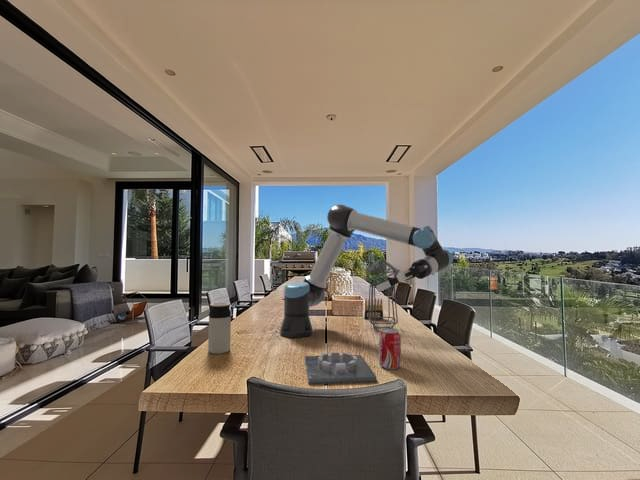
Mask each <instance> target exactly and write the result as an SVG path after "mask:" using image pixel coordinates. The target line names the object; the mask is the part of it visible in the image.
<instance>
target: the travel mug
mask: <svg viewBox="0 0 640 480" xmlns="http://www.w3.org/2000/svg"><path fill="white" fill-rule="evenodd" d="M230 305H231V302H228V301H227V302H225V301H217V302H212V303H210V304H209V306H210V310H209V312H208V340H207V342H208V345H207V351H208V353H210V354H213V355H220V354H225V353H228V352H230V351H231V330H232V329H231V328H232V327H231V326H232V325H231V324H232V323H231V321H232V320H231V319H232V317H231V316H232V312H231V310H230Z"/></svg>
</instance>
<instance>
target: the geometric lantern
mask: <svg viewBox="0 0 640 480" xmlns="http://www.w3.org/2000/svg"><path fill="white" fill-rule="evenodd" d="M378 264H379V265H378ZM384 264H385V265H384ZM377 266H378V267H377ZM385 266H387V267H388V268H386V267H385ZM376 267H377V269H376ZM363 270H364V273H365V275H366V278H368V281H369V291H368V292H369V293H368V300H369V317H368V319H367V320H369V323H370V324H371V325H372V327H373V328H372V329H374V330H375V331H376V332H380V329H386V328H390V329H394V326H396V325H397V324H398V322H399V320H398V319H399V318H398V310H397V298H396V284H395V285H393V286H391V289H390V288H387V293H388V294H387V295H388V316H383V317H376V305H377V301H376V302H375V298H376V289H377V288H376V286H377V285H379V284H380V283H379V282H380V280H381V279H382V280H383V279H385V282H386V281H389V279H388V278H389V277H390V276H392V275H393V278H395V277H396V276H397V275H399V273H400V272H401V270H400V269H399V268H396V267H395V266H394V265H392V264H391V263H389V262H388V261H386V260H385V259H381V258H380V259H377V260H376V261H374V262H373V263H371V264H370V265H369V266H367V267H366V268H364V269H363ZM390 270H392V271H390ZM370 273H371V274H372V275H374V276H375V278H374V280H373V281H372V282H371V278H370ZM387 274H388V275H387ZM377 278H378V281H377V282H375V281H376V279H377ZM393 278H392V279H393ZM374 283H375V284H374ZM390 295H391V306H392V316H390V313H391V312H390V311H391V310H390V308H391V307H390ZM393 296H394V297H393ZM370 305H371V318H370ZM373 305H375V317H372V315H373ZM394 305H395V308H394ZM395 315H396V316H395ZM372 318H375V319H372ZM376 318H383V319H387V322H377V319H376ZM389 319H391V320H390V321H389ZM379 325H389V326H379Z"/></svg>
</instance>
